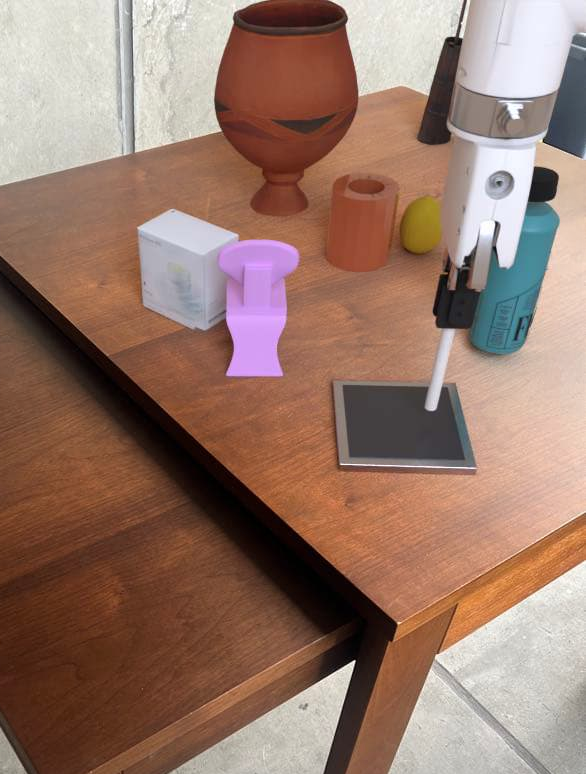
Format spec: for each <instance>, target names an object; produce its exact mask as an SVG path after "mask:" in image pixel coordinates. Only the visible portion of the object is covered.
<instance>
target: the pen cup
mask: <svg viewBox="0 0 586 774" xmlns="http://www.w3.org/2000/svg"><path fill="white" fill-rule="evenodd" d="M400 192H401V189H400V184H399V182H397V181H396V180H394V179H393V178H390V177H388V176H386V175H383V174H379V173H372V172H354V173H347V174H345V175H342V176H340V177H338V178H337V179H336V180H334V182H333V183H332V190H331V198H330V199H331V200H330V207H329V210H330V211H329V218H328V219H329V220H328V229H327V238H326V248H325V257H326V260H327V261H328V263H329V264H330V265H332V266H333V267H335V268H337V269H340V270H342V271H347V272H354V273H367V272H372V271H373V272H374V271H377V270H379V269H381V268H383V267H385V266H386V265H387V264H388V262H389V260H390V255H391V249H392V244H393V243H392V242H393V238H394V237H393V236H394V229H395V224H396V218H397V210H398V204H399V198H400Z"/></svg>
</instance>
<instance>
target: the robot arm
mask: <svg viewBox="0 0 586 774" xmlns="http://www.w3.org/2000/svg"><path fill="white" fill-rule="evenodd" d="M464 26H465V28H464V32H463V36H462V38H463V41H462V47H461V52H460V57H459V62H458V67H457V73H456V78H455V84H454V89H453V94H452V99H451V104H450V110H449V115H448V119H447V128H448V130H449V131H450V132H451V133H452V134H454V141H453V145H452V149H451V153H450V157H449V158H450V159H449V162H448V167H447V172H446V176H445V181H444V185H443V191H442V197H441V202H440V204H441V209H440V225H441V229H442V233H443V235H442V237H443V239H444V243H445V248H444V255H443V260H442V265H441V271H442V273H440V274H439V277H438V283H437V288H436V292H435V297H434V301H433V307H432V315H433V317H435V321H434V323H435V326H436V328H437V329H442V328H443V329H455V330H469V328H471V327H472V324H473V320H474V316H475V312H476V308H477V304H478V300H479V296H480V292H481V290H482V289H485V287H486V282H487V276H488V270H489V263H490V257H491V254H492V250H493V251H494V254H495V256H496V259H497V262H498V264H499V267H502V268H503V269H509V268H510V267H511V266H512V265H513V263H514V259H515V255H516V251H517V247H518V242H519V238H520V234H521V229H522V225H523V220H524V216H525V211H526V207H527V202H528V197H529V192H530V187H531V182H532V176H533V170H534V166H535V163H536V156H537V155H536V153H537V142H540V141H541V140H543V139H544V138H545V137H546V136H547V133H548V131H549V125H550V122H551V118H552V114H553V111H554V107H555V103H556V100H557V97H558V94H559V93H558V92H559V90H560V86H561V82H562V79H563V75H564V71H565V68H566V64H567V60H568V56H569V54H570V50H571V46H572V43H573V39H574V37H575V36H576V35H577V34H581V33H584V34H585V33H586V0H469V5H468V10H467V16H466V21H465V25H464ZM461 267H469V268H470V269H462V270H461V272H460V269H461Z"/></svg>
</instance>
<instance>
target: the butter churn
mask: <svg viewBox="0 0 586 774" xmlns="http://www.w3.org/2000/svg"><path fill="white" fill-rule="evenodd" d="M467 3H468V0H463V2H462V5H461V9H460V14H459V19H458V23H457V29H456V32H455V36H447V37H445V38H444V41H443V45H442V48H441V51H440V54H439V57H438V61H437V64H436V68H435V72H434V74H433V78H432V81H431V85H430V89H429V93H428V97H427V101H426V105H425V107H424V111H423V115H422V118H421V122H420V125H419V131H418V133H417V139H418V140H419V141H420V142H422V143H425V144H428V145H434V144H447V143H449V142H450V141H451V139H452V134H453V133H451V132H450V131H449V130H448V128H447V119H448V115H449V110H450V104H451V99H452V94H453V89H454V84H455V78H456V73H457V67H458V62H459V57H460V52H461V47H462V41H463V37H460V35H461V30H462V27H463V24H462V23H463V22H464V21H463V20H464V17H465V11H466V7H467Z"/></svg>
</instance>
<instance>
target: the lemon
mask: <svg viewBox="0 0 586 774" xmlns="http://www.w3.org/2000/svg"><path fill="white" fill-rule="evenodd" d="M440 209H441V202H439V200H437V199H435V198H433V197H431V195H429V194H425V195H424V196H421V197H418V198H415V199H414V200H412V201H411V202H409V204H408V205H407V206H406V208H405V210H404V212H403V214H402V217H401V220H400V223H399V238H400V242H401V244H402V245H403V247H404V248H405V249H406V250H407V251H408V252H411V253H412V254H413V253H414V254H417V255H420V254H421V255H422V254H427V253H430V251H432V250H434V249H435V248H436V247H437V246H438V244H439V243H440V241H441V239H442V237H443V233H442V229H441V225H440Z"/></svg>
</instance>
